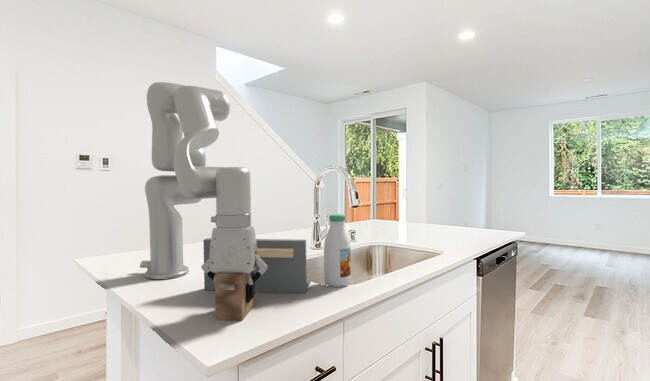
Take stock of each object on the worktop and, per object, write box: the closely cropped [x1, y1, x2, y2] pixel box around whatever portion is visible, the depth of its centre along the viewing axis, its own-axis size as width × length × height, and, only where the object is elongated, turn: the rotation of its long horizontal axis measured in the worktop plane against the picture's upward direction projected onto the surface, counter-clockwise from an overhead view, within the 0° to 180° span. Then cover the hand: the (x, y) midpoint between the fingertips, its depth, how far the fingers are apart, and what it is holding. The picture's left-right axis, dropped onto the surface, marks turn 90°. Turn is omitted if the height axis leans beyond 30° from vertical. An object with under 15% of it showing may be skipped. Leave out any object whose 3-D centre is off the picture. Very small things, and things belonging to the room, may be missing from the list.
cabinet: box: [214, 268, 257, 321], centre depth 77 cm, size 6×11×10 cm, turn 174°
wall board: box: [203, 237, 312, 294], centre depth 95 cm, size 28×12×14 cm, turn 84°
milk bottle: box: [323, 213, 352, 288], centre depth 97 cm, size 8×8×20 cm
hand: (235, 299), depth 77 cm, fingers closed on cabinet, 6 cm apart
